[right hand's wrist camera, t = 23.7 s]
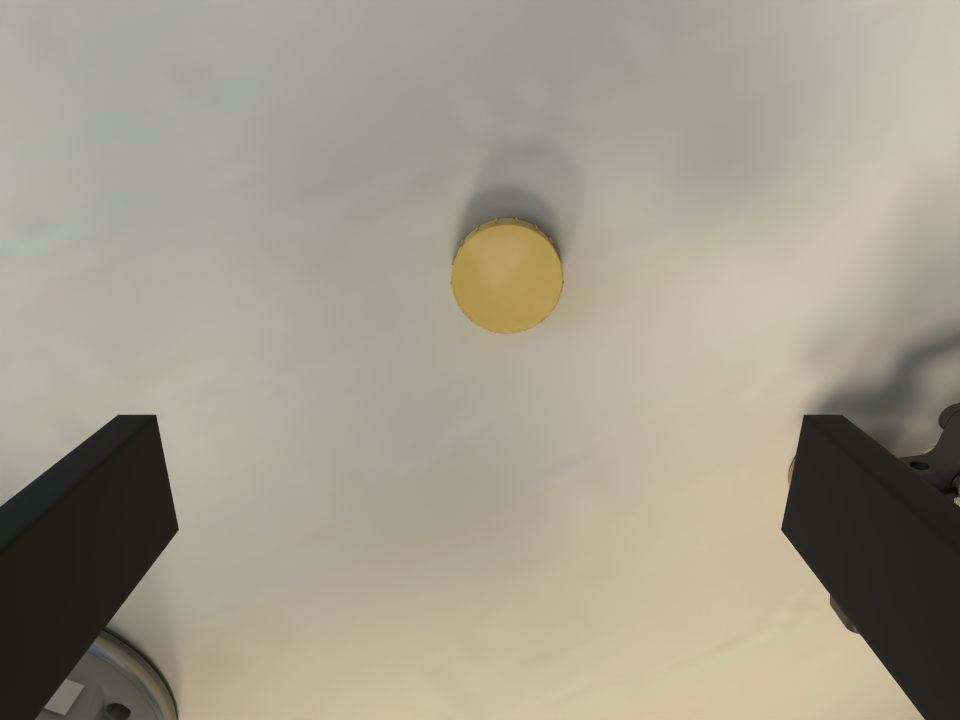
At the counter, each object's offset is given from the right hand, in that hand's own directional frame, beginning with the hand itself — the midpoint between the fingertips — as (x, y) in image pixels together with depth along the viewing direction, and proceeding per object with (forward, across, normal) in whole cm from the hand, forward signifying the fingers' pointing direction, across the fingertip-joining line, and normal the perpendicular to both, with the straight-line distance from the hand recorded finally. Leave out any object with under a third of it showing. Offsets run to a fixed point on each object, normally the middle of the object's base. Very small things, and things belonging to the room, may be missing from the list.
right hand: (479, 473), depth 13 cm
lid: (+15, +1, +1) cm, 15 cm away
